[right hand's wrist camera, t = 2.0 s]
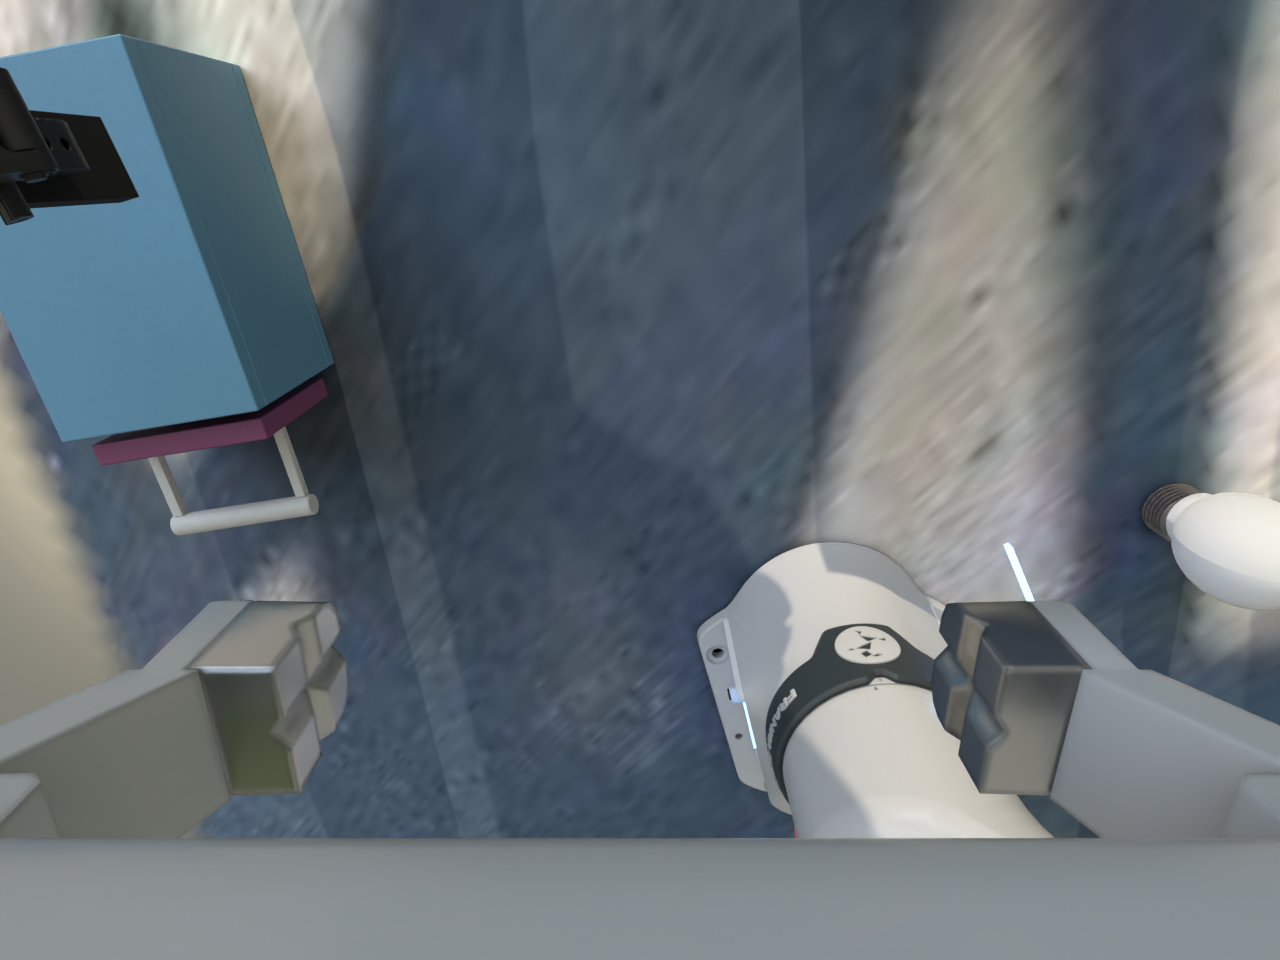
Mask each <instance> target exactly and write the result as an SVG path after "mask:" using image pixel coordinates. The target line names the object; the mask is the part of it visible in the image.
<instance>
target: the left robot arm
mask: <svg viewBox="0 0 1280 960" xmlns="http://www.w3.org/2000/svg"><path fill="white" fill-rule="evenodd" d="M137 197H139V195H138V193H137V191H136V189H135V187H134V184H133V182H132V180H131V178H130V176H129V174H128V172H127V170H126V168H125V166H124V164H123V162H122V160H121V158H120V156H119V154H118V152H117V150H116V148H115V146H114V144H113V142H112V140H111V138H110V136H109V134H108V132H107V130H106V128H105V126H104V123H103V121H102V119H101V117H96V116H86V115H76V114H65V113H55V112H44V111H34V110H29V109H28V107H27V105H26V103H25V101H24V99H23V98H22V96H21V94H20V92H19V90H18V88H17V86H16V84H15V83H14V81H13V79H12V77H11V75H10V73H9V71H8V70H7V69H5V68H1V67H0V216H1V218H2V220H3V222H4V224H5V225H6V226H7V225H11V224H15V223H19V222H23V221H26V220H29V219H31V218H33V217H34V215H33V213H32V212H31V210H30V209H31V208H46V207H62V206H77V205H93V204H109V203H122V202H125V201H128V200H131V199H134V198H137Z"/></svg>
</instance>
